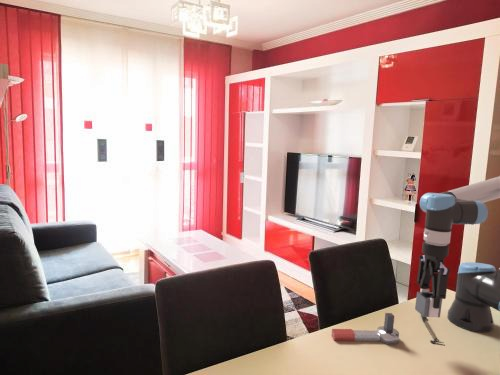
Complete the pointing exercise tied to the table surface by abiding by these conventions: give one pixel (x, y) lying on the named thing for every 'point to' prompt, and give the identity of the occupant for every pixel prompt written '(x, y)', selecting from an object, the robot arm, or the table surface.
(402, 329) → the table surface
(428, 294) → the socket
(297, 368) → the table surface
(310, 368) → the table surface
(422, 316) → the tomahawk
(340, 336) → the ratchet
